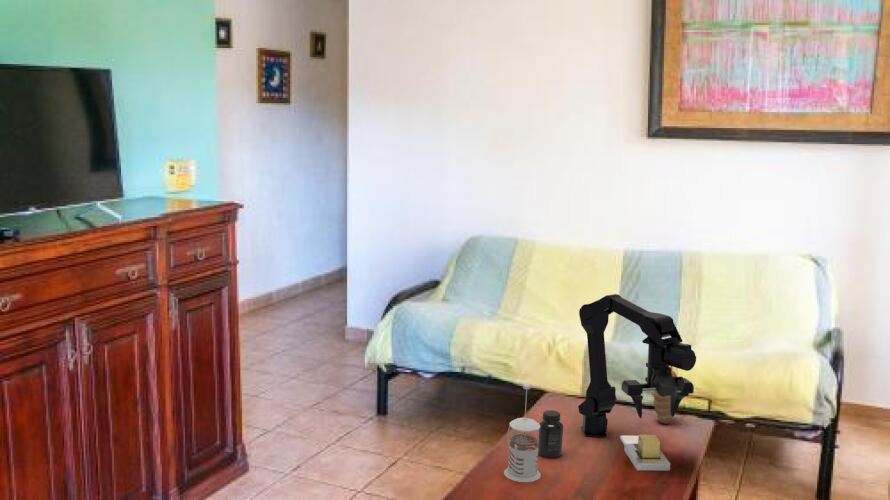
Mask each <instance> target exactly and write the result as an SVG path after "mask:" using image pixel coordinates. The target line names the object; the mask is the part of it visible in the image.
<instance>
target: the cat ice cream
mask: <svg viewBox="0 0 890 500" xmlns="http://www.w3.org/2000/svg"><path fill="white" fill-rule="evenodd" d="M669 367H670V368H671V374H672V377H678V374H677V373H676V371H674V370H673V368H674V367H672V366H669ZM652 391H653V392H652V396H653V402H652V403H653V406H654V411H655V413H656V415H657V420H658V421H659V422H660V423H661V424H665V425H666V424H669V423H670V422H671V420H672V418H673V417H672V416H671V413H670V399H671V396H665V397H662V396H660V395H659V394H658V392H657V390H652Z"/></svg>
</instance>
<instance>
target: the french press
mask: <svg viewBox="0 0 890 500" xmlns="http://www.w3.org/2000/svg"><path fill="white" fill-rule="evenodd" d="M522 388H523V390H525V405H524V406H525V407H524V417H517V418H515V419H513V420H511V421H510V422H509V426H508V429H507V443H508V461H507V462H508V465H507V468H505V470H504V472H503V475H504V476H505V477H506V478H507V479H510V480H511V481H514V482H519V483H532V482H534V481H538V480H539V479H540V478H541V472H540V471H539V470H538V464H539V463H538V460H539V453H538V439H537V437H536V436H534V435H532V434H531V435H530V434H526V433H535V432H537V431H539V429H540V424H539V423H540V422H538V421H536V420H534V419H532V418H527V416H526V414H527V401H528V400H527V399H528V398H527V397H528V390H531V385H530V384H529V383H525V384H523V386H522ZM510 429H512V435H511V437H510V436H509V435H510V434H509V432H510ZM515 431H516V432H521V433H520V434H515ZM509 438H510V439H509ZM534 446H535V447H534Z"/></svg>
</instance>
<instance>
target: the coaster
mask: <svg viewBox="0 0 890 500" xmlns="http://www.w3.org/2000/svg"><path fill="white" fill-rule="evenodd" d="M638 438H639V435H619V439H620V440H621V442H622V444H623V445H624V446H625V444H638Z"/></svg>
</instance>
